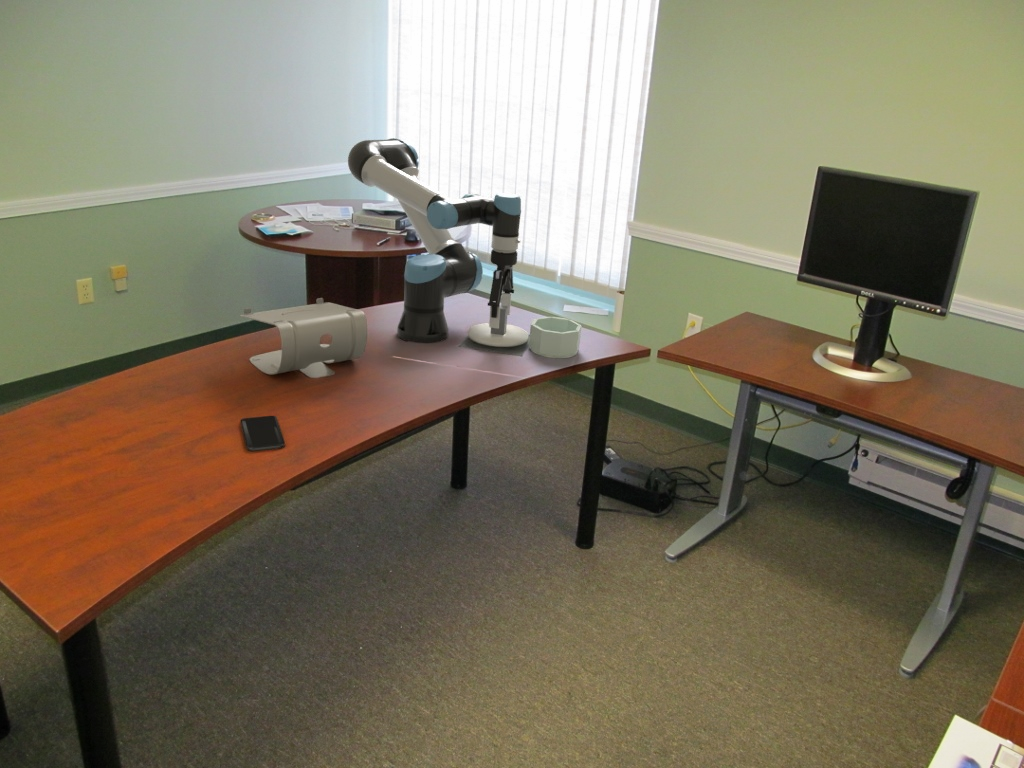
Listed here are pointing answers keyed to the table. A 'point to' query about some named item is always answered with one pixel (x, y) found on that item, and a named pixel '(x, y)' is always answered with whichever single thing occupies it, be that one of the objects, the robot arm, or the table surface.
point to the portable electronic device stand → (312, 338)
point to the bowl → (554, 337)
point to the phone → (262, 433)
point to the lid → (498, 333)
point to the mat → (511, 350)
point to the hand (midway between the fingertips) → (499, 320)
